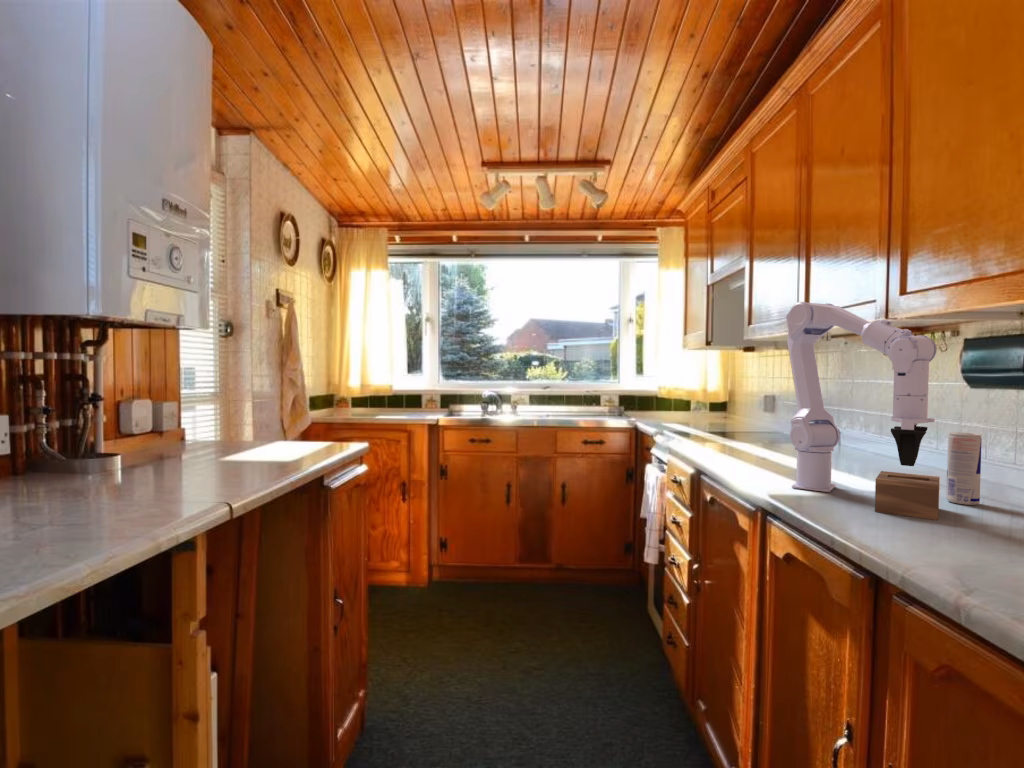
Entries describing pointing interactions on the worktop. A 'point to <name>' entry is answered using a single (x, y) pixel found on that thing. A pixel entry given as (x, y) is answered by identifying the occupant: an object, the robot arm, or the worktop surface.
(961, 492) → the white cylindrical canister
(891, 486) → the money box
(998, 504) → the worktop surface
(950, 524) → the worktop surface
